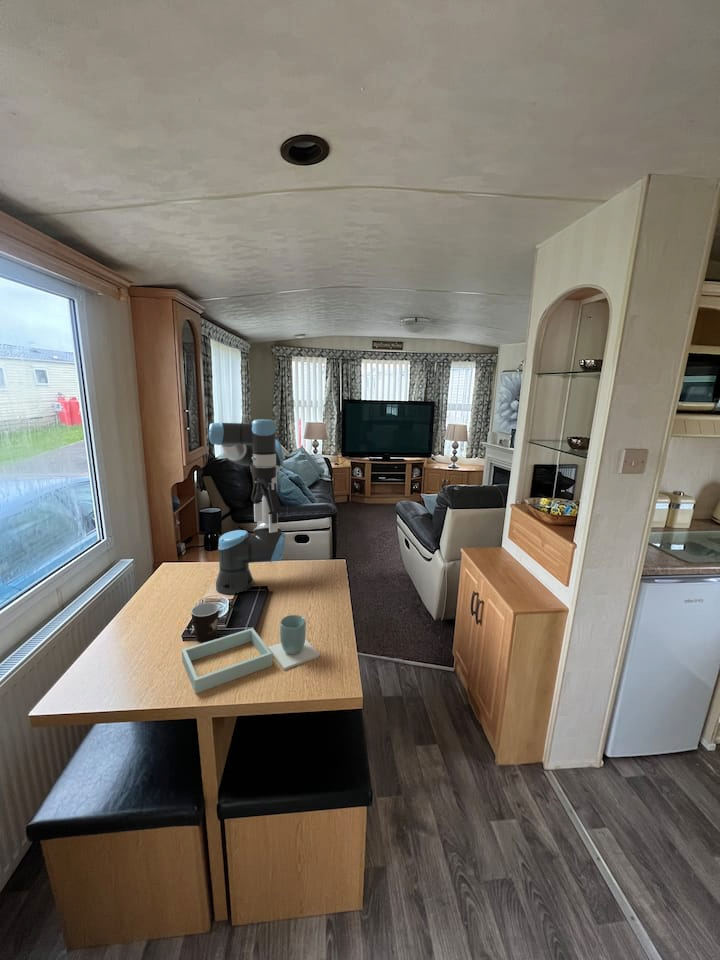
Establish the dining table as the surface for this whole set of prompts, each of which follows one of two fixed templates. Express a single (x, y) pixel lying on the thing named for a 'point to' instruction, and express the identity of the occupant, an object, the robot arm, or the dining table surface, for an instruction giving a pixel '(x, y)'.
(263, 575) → the dining table surface
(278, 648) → the plate
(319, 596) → the dining table surface
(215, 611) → the coffee mug
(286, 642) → the cup
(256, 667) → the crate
